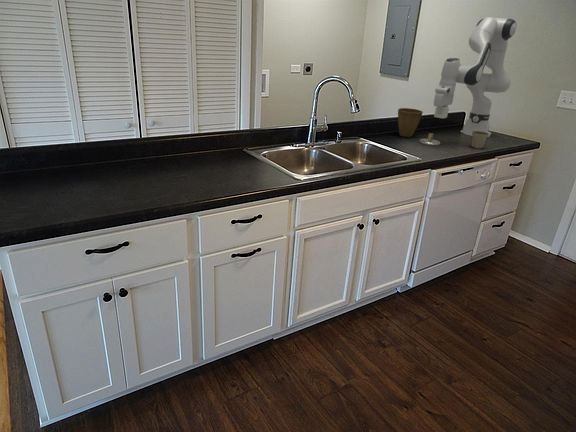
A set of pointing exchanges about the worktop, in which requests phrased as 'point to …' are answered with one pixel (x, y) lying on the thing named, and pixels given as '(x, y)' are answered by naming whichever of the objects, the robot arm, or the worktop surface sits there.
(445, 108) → the knob
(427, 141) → the pot lid
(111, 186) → the worktop surface
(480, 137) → the flower pot
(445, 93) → the robot arm
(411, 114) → the plant pot
